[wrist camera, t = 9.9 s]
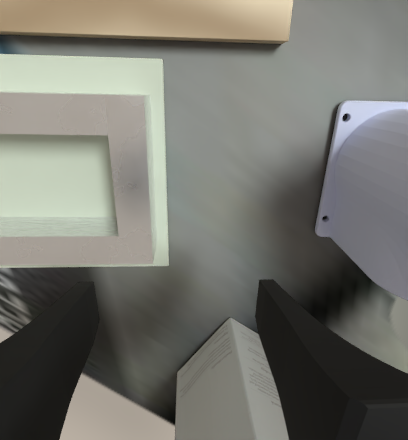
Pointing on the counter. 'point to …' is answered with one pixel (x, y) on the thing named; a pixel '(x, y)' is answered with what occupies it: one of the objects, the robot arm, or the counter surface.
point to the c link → (121, 173)
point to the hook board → (151, 19)
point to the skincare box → (229, 390)
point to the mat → (77, 144)
